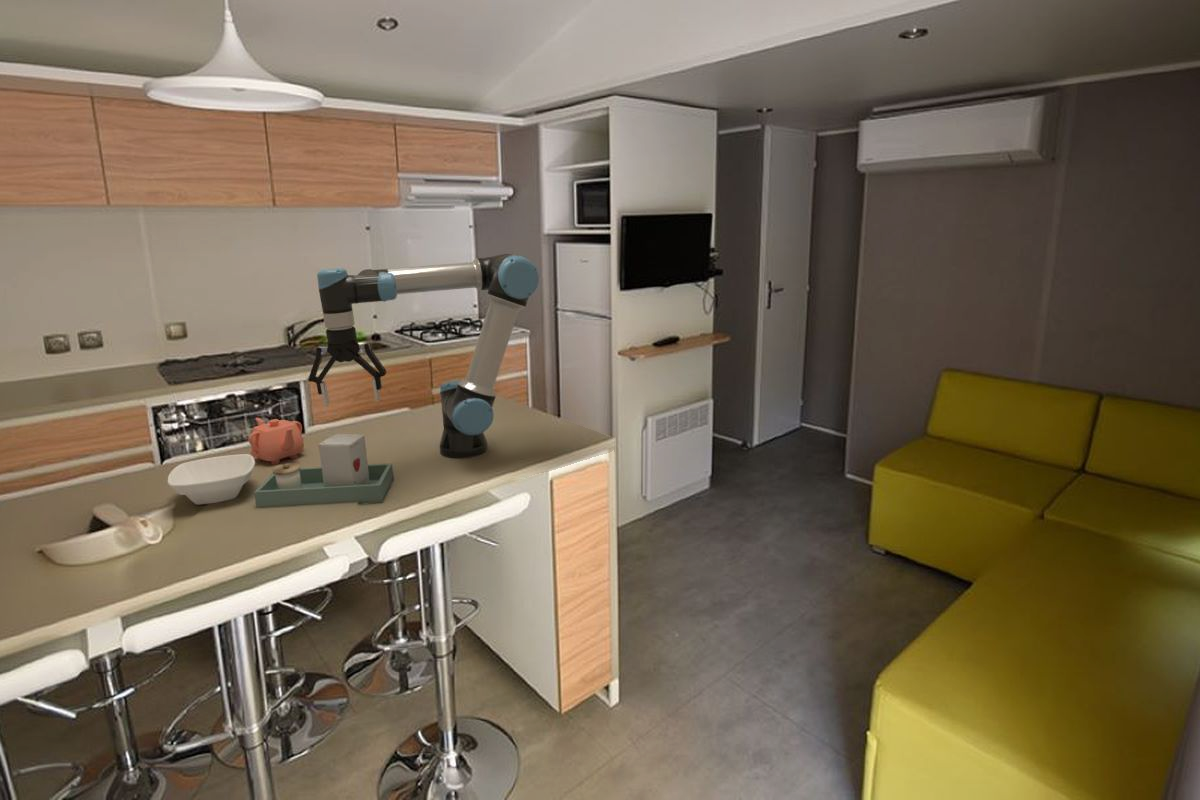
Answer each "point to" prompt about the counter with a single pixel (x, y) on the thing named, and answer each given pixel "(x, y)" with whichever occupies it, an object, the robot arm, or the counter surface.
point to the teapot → (276, 440)
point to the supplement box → (344, 460)
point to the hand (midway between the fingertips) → (352, 403)
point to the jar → (289, 481)
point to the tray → (326, 489)
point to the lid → (286, 468)
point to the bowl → (212, 478)
